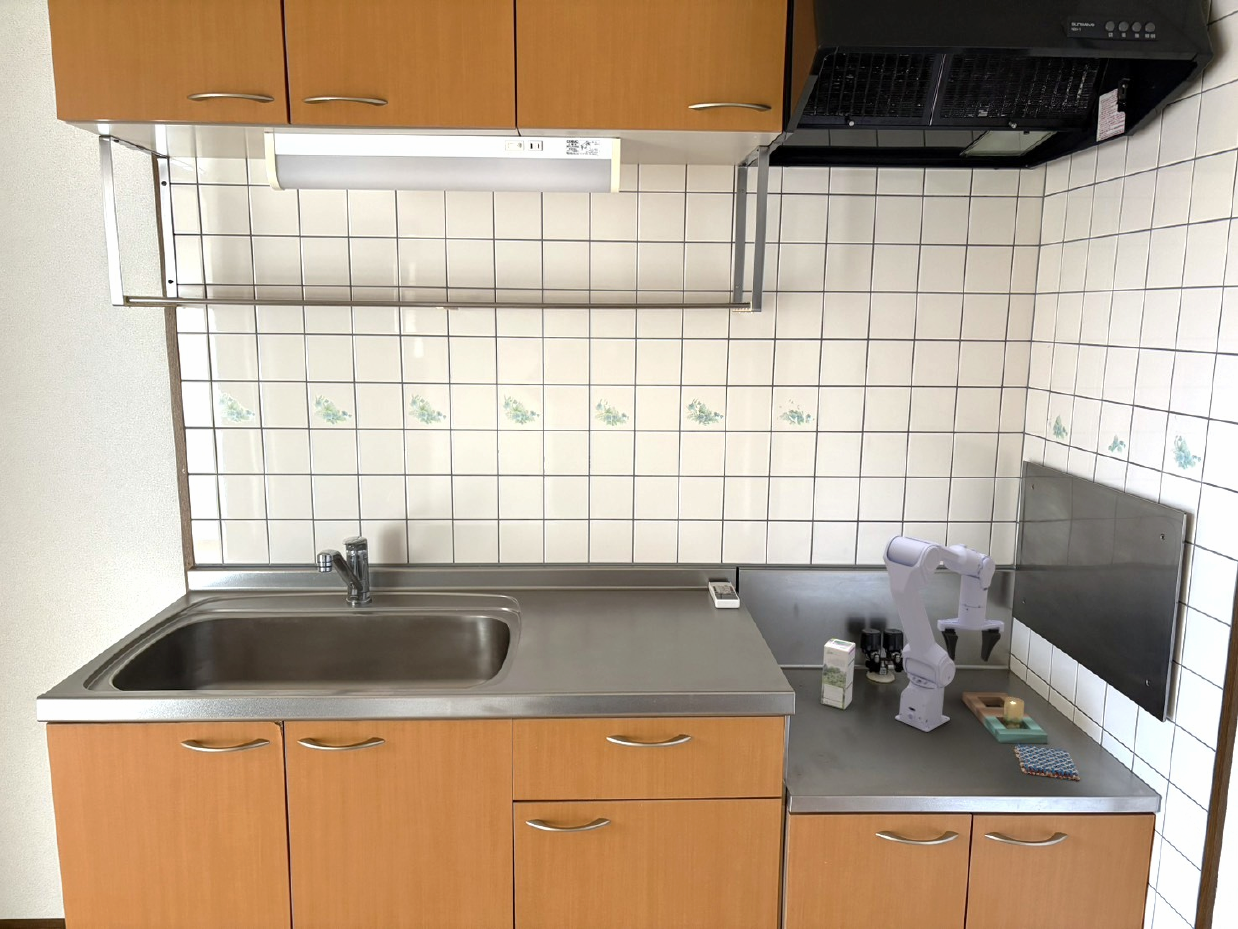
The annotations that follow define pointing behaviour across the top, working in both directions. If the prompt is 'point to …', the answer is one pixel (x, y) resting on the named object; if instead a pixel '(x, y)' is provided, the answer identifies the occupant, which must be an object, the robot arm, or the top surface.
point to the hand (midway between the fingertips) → (967, 659)
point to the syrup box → (838, 673)
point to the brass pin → (1013, 713)
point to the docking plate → (994, 719)
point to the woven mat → (1046, 762)
